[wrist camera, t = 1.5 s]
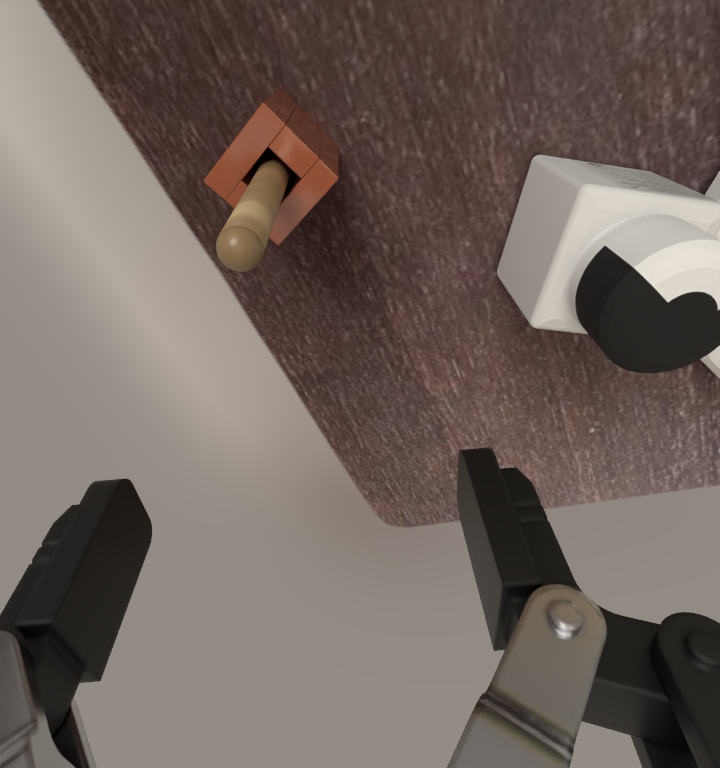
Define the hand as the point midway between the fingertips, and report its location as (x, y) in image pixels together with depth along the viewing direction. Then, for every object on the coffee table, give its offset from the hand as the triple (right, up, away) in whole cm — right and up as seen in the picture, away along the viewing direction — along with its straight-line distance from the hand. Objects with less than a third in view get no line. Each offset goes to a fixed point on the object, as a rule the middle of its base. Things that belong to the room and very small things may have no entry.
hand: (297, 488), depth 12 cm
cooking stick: (-3, +16, +16) cm, 23 cm away
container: (+15, +13, +20) cm, 28 cm away
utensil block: (-3, +16, +16) cm, 23 cm away
